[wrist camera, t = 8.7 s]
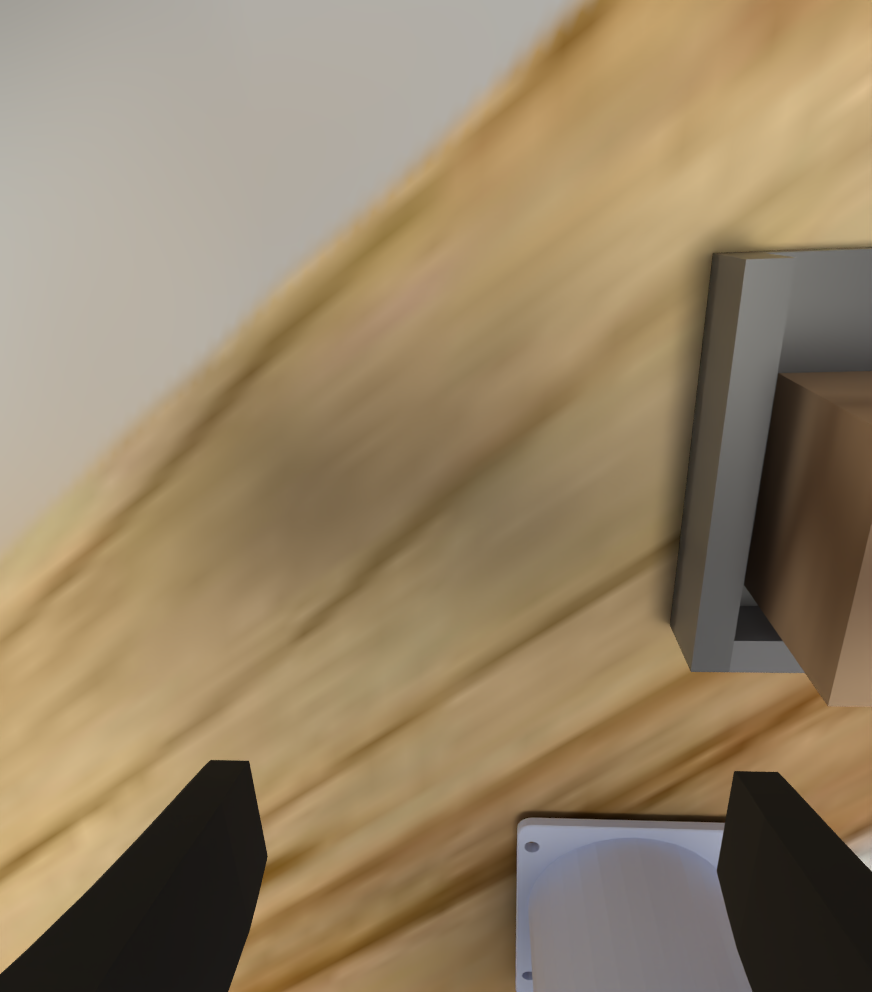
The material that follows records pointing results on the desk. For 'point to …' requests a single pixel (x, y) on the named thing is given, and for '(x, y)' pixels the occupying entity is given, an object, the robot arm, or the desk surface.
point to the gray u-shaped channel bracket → (754, 431)
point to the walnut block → (819, 530)
